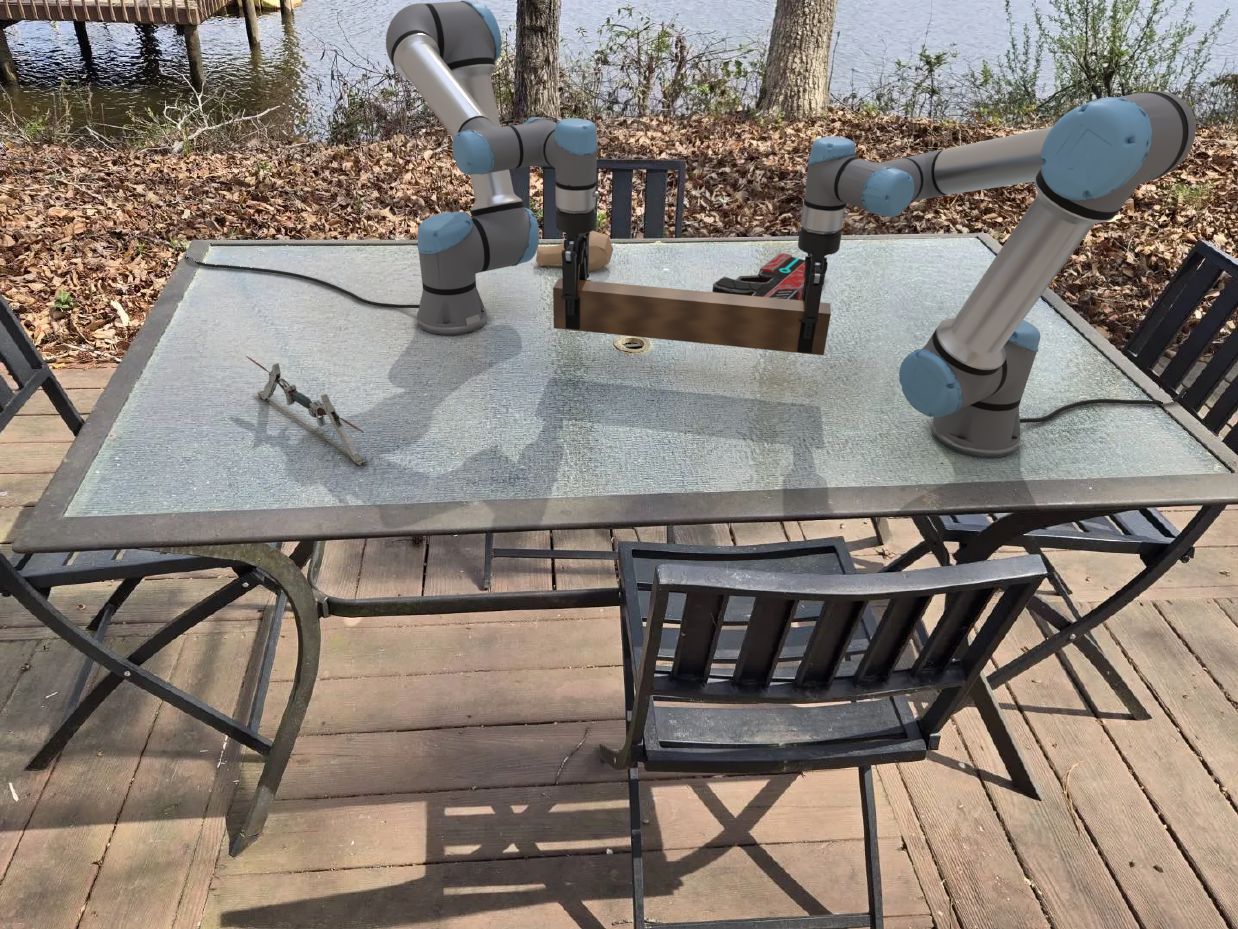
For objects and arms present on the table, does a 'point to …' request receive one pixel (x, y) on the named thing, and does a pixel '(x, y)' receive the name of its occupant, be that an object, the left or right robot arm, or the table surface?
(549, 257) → the squash
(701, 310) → the beam
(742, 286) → the gun
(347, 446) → the bow
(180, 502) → the table surface
